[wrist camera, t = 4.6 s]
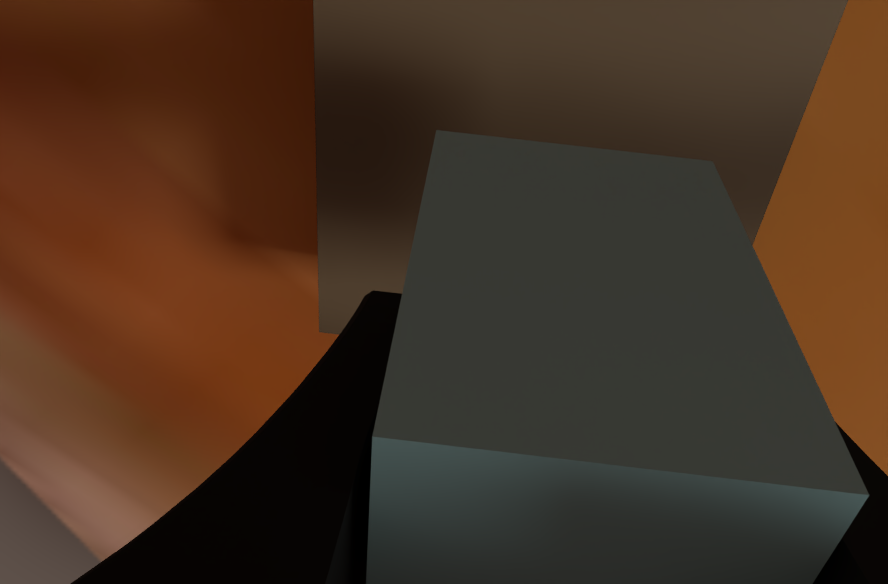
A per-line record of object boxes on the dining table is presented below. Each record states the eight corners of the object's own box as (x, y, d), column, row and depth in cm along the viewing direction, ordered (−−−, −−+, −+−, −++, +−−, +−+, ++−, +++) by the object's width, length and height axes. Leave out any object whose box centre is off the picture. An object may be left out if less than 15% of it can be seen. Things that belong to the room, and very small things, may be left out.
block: (644, 368, 13) (719, 728, 8) (418, 341, 13) (361, 684, 8) (712, 161, 11) (869, 495, 6) (436, 130, 11) (371, 436, 6)
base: (679, 299, 20) (701, 376, 18) (343, 260, 20) (319, 331, 18) (803, -67, 15) (858, -28, 12) (345, -117, 15) (311, -88, 12)
